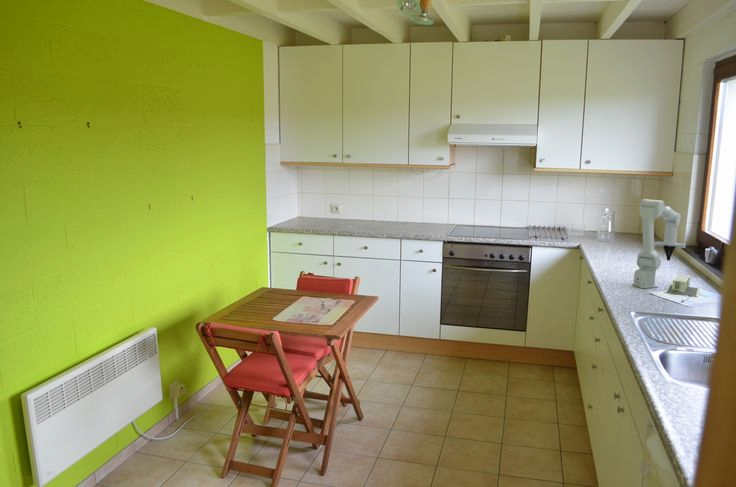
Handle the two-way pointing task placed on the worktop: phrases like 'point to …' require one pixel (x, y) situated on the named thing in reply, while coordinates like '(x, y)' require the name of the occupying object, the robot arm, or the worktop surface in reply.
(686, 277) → the syrup box
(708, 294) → the worktop surface
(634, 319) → the worktop surface
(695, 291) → the mat
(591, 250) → the worktop surface
